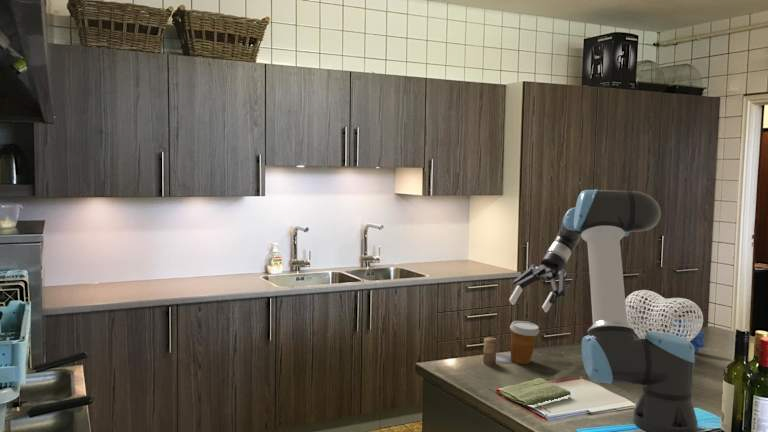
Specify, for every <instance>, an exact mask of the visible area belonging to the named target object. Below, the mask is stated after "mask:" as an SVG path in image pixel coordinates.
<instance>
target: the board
mask: <svg viewBox="0 0 768 432" xmlns="http://www.w3.org/2000/svg"><path fill="white" fill-rule="evenodd" d="M498 363H501V364H506V365H519V364H520V365H521V363H516V362H514V361H512V360H511V353H496V364H495V365H485V364H483V361H481V364H482V365H483V366H487V367H495V366H497V365H498Z"/></svg>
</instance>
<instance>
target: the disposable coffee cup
mask: <svg viewBox="0 0 768 432" xmlns="http://www.w3.org/2000/svg"><path fill="white" fill-rule="evenodd" d="M509 329H510V354H511V360H512V361H514V362H516V363H520V365H522V364H523V365H525V364H530V363H531V361H532V360H531V359H532V355H533V352H534V348H535V346H536V341H537V338H538V335H539V333H540V330H539V325H538V324H536V323H533V322H529V321H523V320H513V321H512V322H511V323H510V326H509Z"/></svg>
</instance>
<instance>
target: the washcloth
mask: <svg viewBox="0 0 768 432" xmlns="http://www.w3.org/2000/svg"><path fill="white" fill-rule="evenodd" d="M497 393H498V394H499V395H500V396H503V397H505V398H507V399H510V400H511V401H513V402H516V403H519V404H522V405H523V406H525V405H535V404H538V403H543V402H545V401H549V400H551V401H552V400H554V399H558V398H561V397H564V396H567V395H570V396H571V391H569V390H568V389H566V388H564V387H562V386H561V387H560V386H558V385H557V384H553V383H551V382H550V381H549V380H548V381H547V380H546V379H544V378H541V377H537V378H534V379H532V380H528V381H524V382H519V383H516V384H513V385H506V386H505V387H502V388H501V389H500V390H499V391H498V392H497Z"/></svg>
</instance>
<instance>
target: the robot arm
mask: <svg viewBox="0 0 768 432" xmlns="http://www.w3.org/2000/svg"><path fill="white" fill-rule="evenodd" d="M661 216H662V211H661V207H660V205H659V203H658V202H657V200H655V199H654V198H653V196H651V195H649V194H648V193H644V192H642V191H638V190H618V189H617V190H613V189H612V190H609V189H598V188H596V189H585V190H582V191H580V193H579V195H578V197H577V200H576V203H575V207H571V208H570V209H568V210H567V211H566V212H565V214H564V216H563V218H562V223H561V225H560V227H559V231H558V232H557V235H556V236H555V238H554V240H553V242H552V243H551V245H550V246H549V248H547V249H548V250H547V251H546V253H545V254H544V256H543V258H542V260H541V261H540V265H539V266H536V265H535V264H531V265H530V266H529V268H527V269H526V270H525V271H524V272H523V273H521V274H520V275H519V276H518V277H516V278H515V279H514V280H512V283H513V284H514V286H515V287H514V288H513V290H512V291H511V296H510V297H509V299H508V301H509V303H510V304H511V305H513V306H514V305H515V304H516V302H517V301H518V299H519V297H520V295H521V294H522V292H523V289H524V288H526V287H528V286H529V285H532V284H533V283H535V282H538V281H546V282H550V284H551V288H552V291H550V293H549V294H548V296H547V298H546V299H545V300H544V303H543V304H542V306H541V308H542V310H543V311H544V313H548V312H549V310H550V309H551V306H552V305H554V304H555V302H556V301H557V299H558V298H559V297H565V296H566V280H567V276H568V272H566V270H565V266H566V263H567V262H568V260H569V259H570V257H571V255H572V253H573V251H574V250H575V249H576V247H577V246H578V243H579V242H580V241H581V240H583V241H585V242H586V244H587V245H586V246H587V259H588V271H589V273H588V275H589V286H590V299H591V300H590V302H591V313H592V325H591V326H590V327H589V328H588V329H587V335H585V336H583V337H582V340H581V358H582V363H583V367H584V370H585V373H586V375H587V376H588V378H589V380H591V381H593V382H595V383H602V384H607V385H611V384H614V385H615V384H616V385H617V384H620V385H633V386H634V385H636V386H637V385H638V386H642V390H641V393H640V395H639V398H638V401H637V403H636V406H635V408H634V410H633V416H632V417H633V418H632V421H633V423H634V424H635V426H637V427H638V428H640V429H642V430H643V431H645V432H698V424H699V423H698V419H697V415H696V411H695V408H694V404H693V400H692V399H693V398H692V397H693V396H692V395H693V383H694V373H695V363H696V359H695V353H694V352H695V350H694V346H693V345H692V344H691V343H690V342H689V341H687V340H685V339H683V338H680V337H677V336H674V335H672V334H671V335H670V333H669V334H666V333H665V332H664V333H661V332H648V331H646V335H644V336H645V337H644V338H645V339H640V338H639V337H637V338H636V333H635V332H634V329H633V328H632V327H631V326H632V325H631V326H630V325H629V324H628V323H627V313H626V303H625V299H626V295H625V284H624V272H623V262H622V251H621V240H622V239H623V238H624V237H628V236H630V233H635V232H636V233H637V232H645V231H649V230H652V229H653V228H655V227H656V226H657V224H658V223H659V222H660V220H661ZM557 277H559V280H558V284H557V280H556V278H557Z"/></svg>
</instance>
